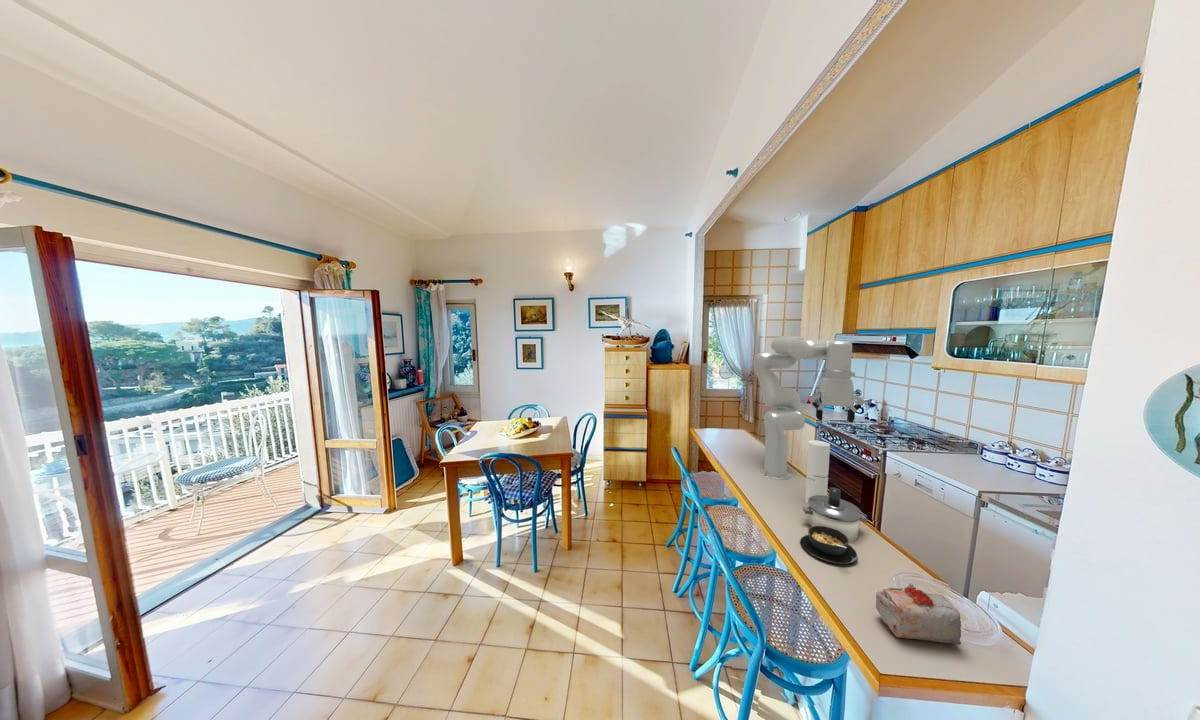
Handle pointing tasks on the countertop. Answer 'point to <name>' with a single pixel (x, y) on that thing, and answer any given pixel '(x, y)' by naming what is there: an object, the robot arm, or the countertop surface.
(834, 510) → the lid
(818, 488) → the cylindrical container
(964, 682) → the countertop surface
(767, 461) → the robot arm
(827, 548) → the soup bowl
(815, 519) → the pot
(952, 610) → the food item
